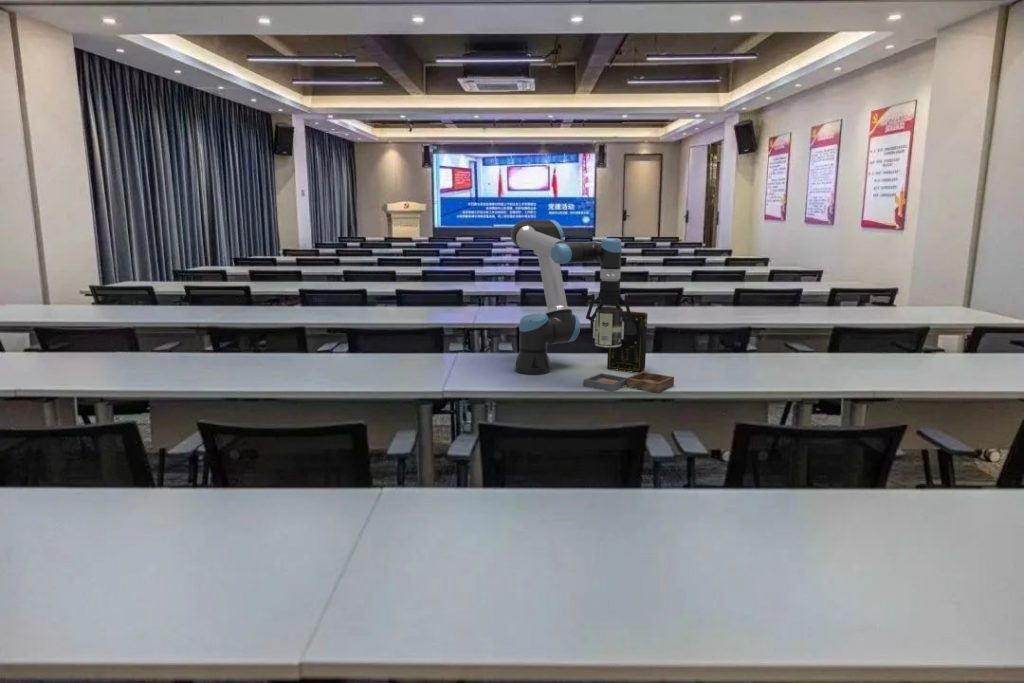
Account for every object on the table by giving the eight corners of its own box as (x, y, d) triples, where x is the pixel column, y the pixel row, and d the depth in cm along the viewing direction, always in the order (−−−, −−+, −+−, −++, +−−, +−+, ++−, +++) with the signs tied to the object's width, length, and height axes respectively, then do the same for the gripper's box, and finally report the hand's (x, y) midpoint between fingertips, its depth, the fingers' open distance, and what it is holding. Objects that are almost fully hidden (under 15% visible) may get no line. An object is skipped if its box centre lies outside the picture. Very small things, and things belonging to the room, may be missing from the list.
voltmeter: (605, 369, 291) (607, 311, 286) (612, 365, 298) (614, 308, 293) (641, 374, 283) (643, 314, 278) (647, 369, 291) (650, 311, 286)
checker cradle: (583, 385, 265) (583, 379, 265) (600, 379, 275) (600, 373, 275) (612, 391, 257) (613, 385, 257) (629, 384, 267) (629, 378, 267)
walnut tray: (625, 387, 264) (626, 378, 263) (642, 380, 274) (642, 371, 273) (658, 393, 256) (658, 384, 255) (673, 385, 266) (674, 376, 265)
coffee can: (618, 342, 268) (619, 306, 266) (624, 347, 258) (625, 310, 255) (592, 342, 268) (593, 306, 265) (597, 347, 258) (598, 310, 255)
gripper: (579, 280, 256) (578, 338, 260) (641, 281, 253) (638, 340, 257) (580, 278, 263) (578, 335, 268) (640, 279, 260) (637, 336, 265)
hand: (608, 337), depth 262 cm, fingers closed on coffee can, 10 cm apart
